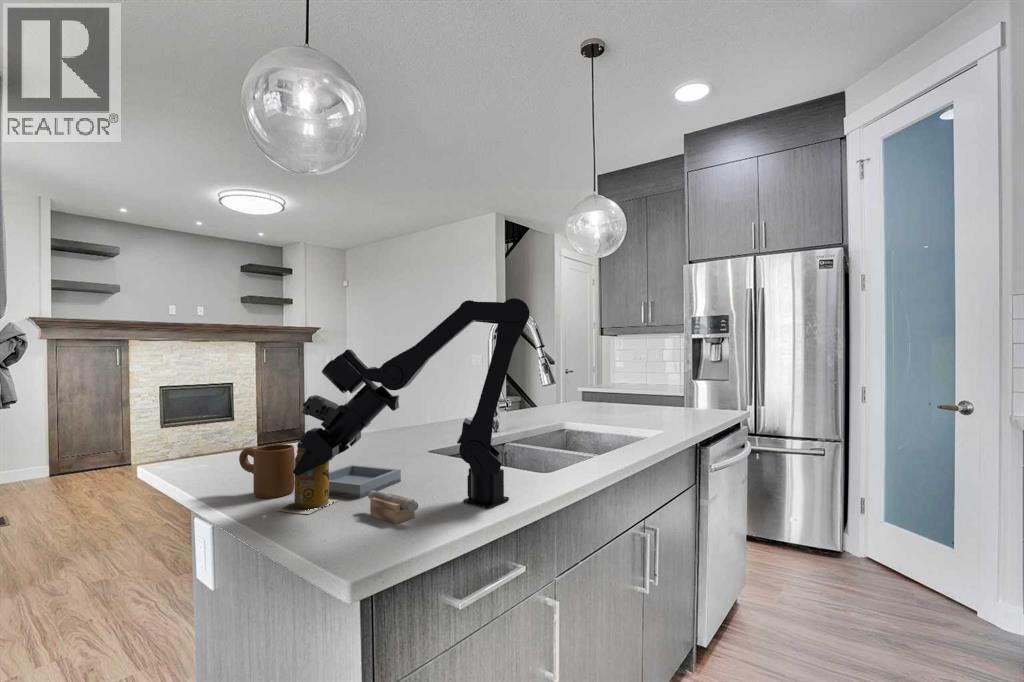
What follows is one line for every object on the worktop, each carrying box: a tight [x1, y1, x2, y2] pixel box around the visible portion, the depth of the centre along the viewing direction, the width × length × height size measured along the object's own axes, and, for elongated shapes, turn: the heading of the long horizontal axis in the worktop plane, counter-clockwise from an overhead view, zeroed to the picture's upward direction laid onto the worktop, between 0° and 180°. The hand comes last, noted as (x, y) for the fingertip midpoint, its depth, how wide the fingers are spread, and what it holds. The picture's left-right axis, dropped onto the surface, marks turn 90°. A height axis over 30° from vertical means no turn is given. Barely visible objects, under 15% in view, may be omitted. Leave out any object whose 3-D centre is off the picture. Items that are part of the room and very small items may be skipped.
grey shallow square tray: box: [329, 464, 402, 499], centre depth 105 cm, size 14×14×3 cm
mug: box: [238, 444, 296, 499], centre depth 101 cm, size 12×8×9 cm, turn 78°
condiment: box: [275, 441, 339, 515], centre depth 92 cm, size 7×8×12 cm
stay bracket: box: [367, 490, 419, 525], centre depth 85 cm, size 13×4×4 cm, turn 53°
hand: (301, 469), depth 93 cm, fingers closed on condiment, 6 cm apart
